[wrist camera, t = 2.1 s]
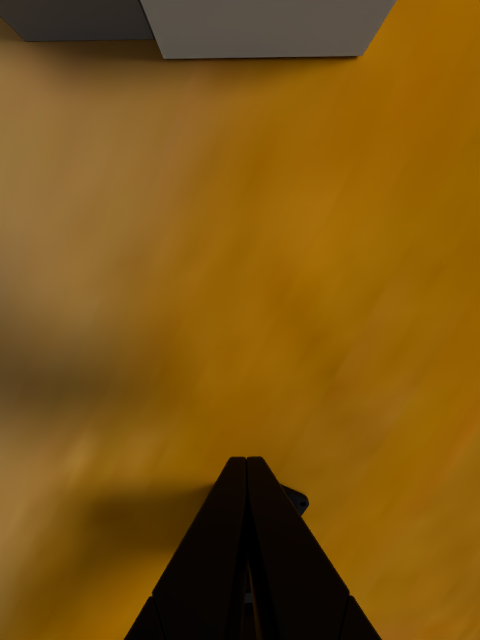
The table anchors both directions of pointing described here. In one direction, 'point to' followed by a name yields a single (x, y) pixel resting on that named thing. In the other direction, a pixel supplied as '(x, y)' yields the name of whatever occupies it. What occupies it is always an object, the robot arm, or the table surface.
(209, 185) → the table surface
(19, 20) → the camera body
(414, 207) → the table surface
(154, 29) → the side door
